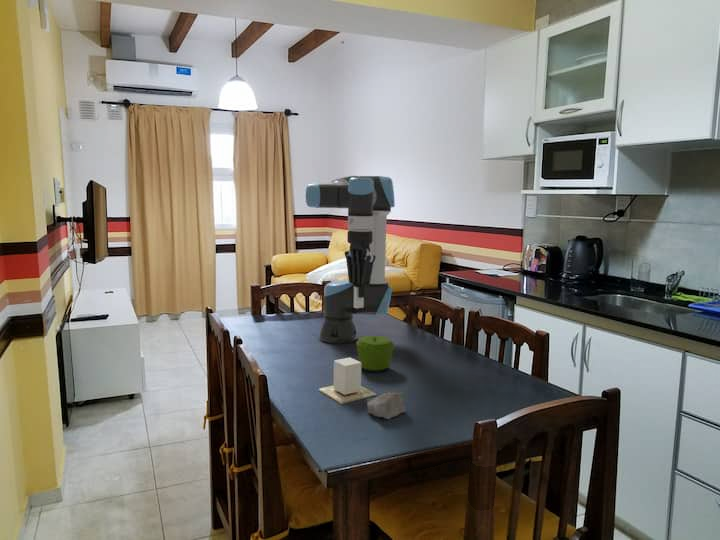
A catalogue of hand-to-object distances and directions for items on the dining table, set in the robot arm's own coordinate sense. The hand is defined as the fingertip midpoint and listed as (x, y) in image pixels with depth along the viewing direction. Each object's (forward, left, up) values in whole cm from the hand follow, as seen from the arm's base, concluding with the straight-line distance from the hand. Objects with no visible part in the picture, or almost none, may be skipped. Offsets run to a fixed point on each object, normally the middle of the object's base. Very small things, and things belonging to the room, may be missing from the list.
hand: (358, 307), depth 162 cm
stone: (+7, +24, -24) cm, 35 cm away
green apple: (-12, -7, -24) cm, 28 cm away
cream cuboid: (+8, +6, -23) cm, 25 cm away
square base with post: (+8, +6, -24) cm, 26 cm away
